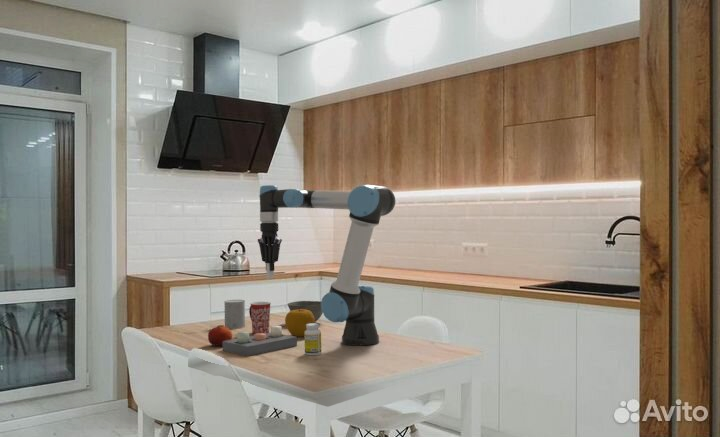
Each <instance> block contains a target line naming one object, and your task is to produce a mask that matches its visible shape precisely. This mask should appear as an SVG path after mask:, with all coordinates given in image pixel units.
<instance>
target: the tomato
mask: <svg viewBox="0 0 720 437" xmlns="http://www.w3.org/2000/svg"><path fill="white" fill-rule="evenodd" d="M207 334H208V335H207V339H208V342H209V344H210V345H212V346H220V347H223V341H227V340H232V339H233V333H232V331H231V329H228V328H227V327H225V324H219V325H217V326H216V327H213V328H212V329H210V331H209V332H208V333H207Z"/></svg>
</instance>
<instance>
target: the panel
mask: <svg viewBox="0 0 720 437" xmlns="http://www.w3.org/2000/svg"><path fill="white" fill-rule="evenodd" d="M265 334H266V340H261V341H257V340H255V339H254V335H249V343H245V344H239V343H238V339H237V338H232V340H227V341H223V346H222V351H225V352H228V353H233V354H237V355H240V354H241V356H244V357H245V356H246V357H250V356H254V355H260V354H264V353H269V352H273V351H279V350H283V349H288V348H292V347H297V346H298V337H297V336H293V335H288V334H283V333H282V337H276V338H274V337H271V331H269V333H265Z"/></svg>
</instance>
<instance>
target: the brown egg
mask: <svg viewBox="0 0 720 437" xmlns="http://www.w3.org/2000/svg"><path fill="white" fill-rule="evenodd" d="M253 336H254V339H255V340H257V341H261V340H266V334H265V333H257V334H253Z"/></svg>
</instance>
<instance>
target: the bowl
mask: <svg viewBox="0 0 720 437" xmlns="http://www.w3.org/2000/svg"><path fill="white" fill-rule="evenodd" d="M321 301H322V300H321ZM321 301H319V300H316V301H315V300H298V301H292V302H288V303H287V304H286V305H287V307H288V309H289V312H290V311H292V310H297V309H306V310H309V311H311V312H312V314H313V316H314V318H315V323H316V322H318V320H319V319H320V318H321V317H322V315H323V314H324V313H323V312H322V309H321Z"/></svg>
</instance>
